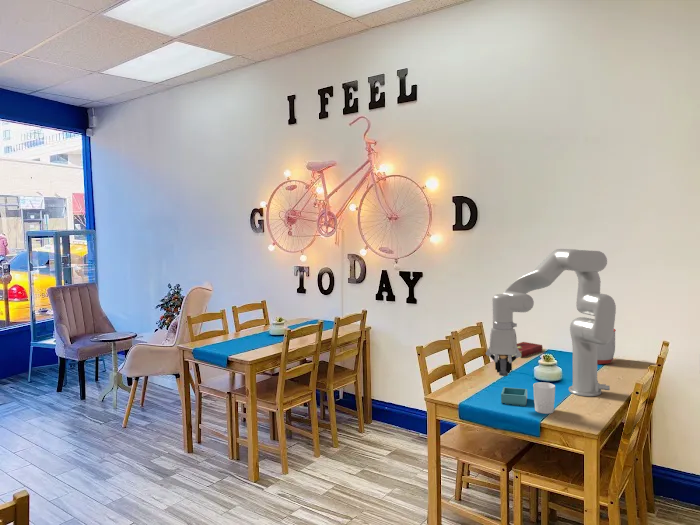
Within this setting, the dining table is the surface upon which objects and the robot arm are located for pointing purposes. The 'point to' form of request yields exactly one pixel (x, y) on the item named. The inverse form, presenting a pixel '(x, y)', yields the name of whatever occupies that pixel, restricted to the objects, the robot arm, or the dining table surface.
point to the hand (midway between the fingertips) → (503, 371)
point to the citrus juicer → (606, 351)
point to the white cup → (544, 397)
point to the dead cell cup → (514, 396)
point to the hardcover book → (528, 348)
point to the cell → (503, 365)
